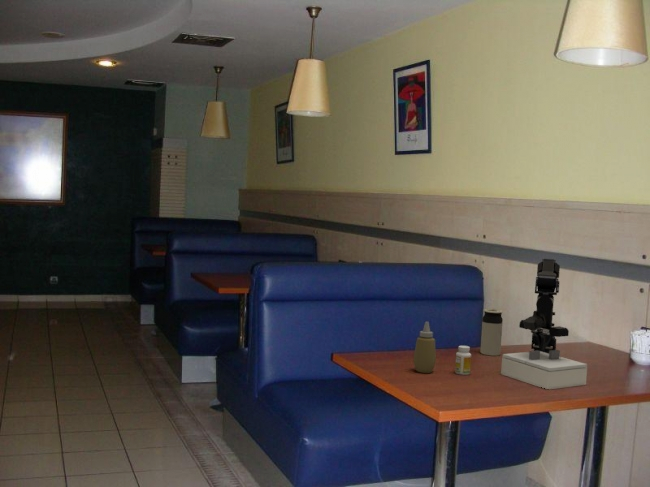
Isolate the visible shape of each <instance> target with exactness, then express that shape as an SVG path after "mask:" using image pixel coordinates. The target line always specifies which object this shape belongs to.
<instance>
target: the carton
mask: <svg viewBox="0 0 650 487" xmlns="http://www.w3.org/2000/svg"><path fill="white" fill-rule="evenodd" d="M500 368H501V369H500V374H501V375H502V376H506V377H509V378H511V379H514V380H517V381H521V382H523V383H526V384H530V385H533V386H535V387H539V388H541V387H542V389H544V388H545V389H544V390H547V389H549V390H553V389H554V390H555V389H562V388H563V389H564V388H571V387H577V386H586V385H587V376H588V375H587V373H588V367H583V368H574V369H565V370H556V371H547V370H544V369H541V368H537V367H534V366H531V365H528V364H524V363H521V362H518V361H514V360H511V359H508V358H504V357H502V358H501V367H500Z"/></svg>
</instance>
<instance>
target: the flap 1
mask: <svg viewBox="0 0 650 487" xmlns="http://www.w3.org/2000/svg"><path fill="white" fill-rule="evenodd" d="M502 358H508V359H511V360H514V361H518V362H521V363H524V364H526V361H532V360H542V359H549V354H548V353H545V352H541V351H538V350H535V351H534V350H529V351H524V352H523V351H522V352H513V353H503V354H502ZM559 358H562V356H559Z"/></svg>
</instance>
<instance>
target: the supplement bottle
mask: <svg viewBox="0 0 650 487" xmlns="http://www.w3.org/2000/svg"><path fill="white" fill-rule="evenodd" d="M470 348H471V347H470V346H468V345H459V346H458V348H457V350H458V351H457V352H456V353H455V364H454V366H455V367H454V372H455V374H457V375H460V376H461V375H463V376H465V375H467V376H468V375H470V374H471V365H472V364H471V363H472V354H471V353H470V350H471V349H470Z"/></svg>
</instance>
